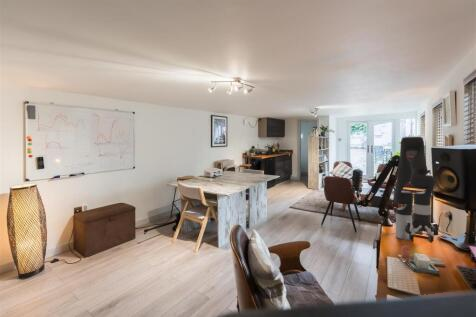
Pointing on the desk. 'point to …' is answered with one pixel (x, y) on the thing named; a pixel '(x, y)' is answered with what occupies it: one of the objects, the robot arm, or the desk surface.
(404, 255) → the pawn
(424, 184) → the robot arm
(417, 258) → the die
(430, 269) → the tray
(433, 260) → the board
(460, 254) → the desk surface
